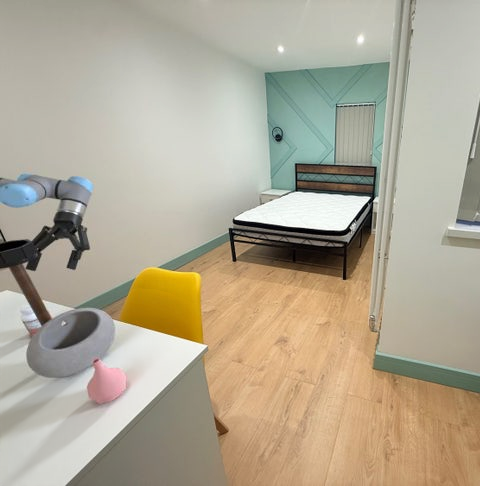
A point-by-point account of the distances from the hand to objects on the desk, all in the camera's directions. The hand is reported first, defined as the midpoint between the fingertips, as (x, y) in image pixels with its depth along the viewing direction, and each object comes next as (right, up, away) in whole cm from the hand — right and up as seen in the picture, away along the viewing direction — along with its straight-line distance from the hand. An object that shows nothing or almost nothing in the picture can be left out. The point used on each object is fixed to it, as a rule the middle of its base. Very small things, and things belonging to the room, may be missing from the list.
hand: (50, 269), depth 91 cm
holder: (+17, +6, -26) cm, 32 cm away
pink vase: (+40, -30, -23) cm, 56 cm away
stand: (+18, -26, -12) cm, 34 cm away
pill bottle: (+1, -21, -2) cm, 22 cm away
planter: (+27, -27, -15) cm, 41 cm away
